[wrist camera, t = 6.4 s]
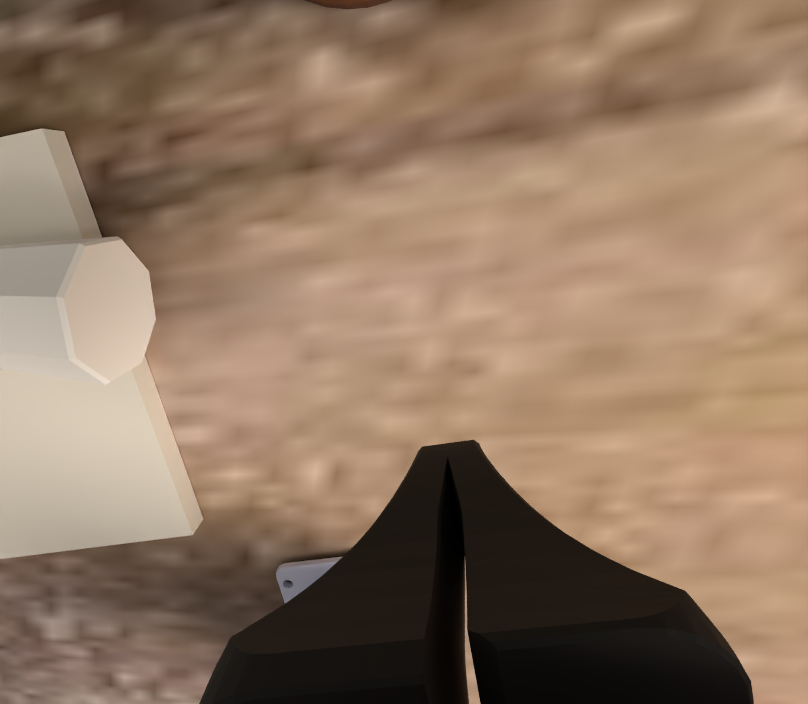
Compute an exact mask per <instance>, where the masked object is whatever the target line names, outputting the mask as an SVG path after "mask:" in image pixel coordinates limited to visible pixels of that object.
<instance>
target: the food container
mask: <svg viewBox="0 0 808 704" xmlns="http://www.w3.org/2000/svg"><path fill="white" fill-rule="evenodd" d="M306 1H308V2H312V3H315V4H318V5H322V6H325V7H331V8H340V9H356V8H368V7H372V6H375V5H379V4H382V3H386V2H389V1H391V0H306Z"/></svg>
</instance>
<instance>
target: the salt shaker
mask: <svg viewBox="0 0 808 704" xmlns="http://www.w3.org/2000/svg"><path fill="white" fill-rule="evenodd" d="M155 321H156V317H155V310H154V303H153V296H152V289H151V283H150V276H149V271H148V270H147V268H146V267H145V266H144V265H143V264H142V263H141V261H140V260H139V259H138V258H137V257H136V255H135V254H134V253H133V252H132V251H131V250H130V248H129V247H128V246H127V245H126V244H125V242H124V241H123V240H122V239H121V238H119V237H118V236H116V237H103V238H90V239H77V240H65V241H52V242H39V243H26V244H13V245H1V246H0V368H1V369H7V370H14V371H20V372H27V373H33V374H40V375H46V376H53V377H59V378H66V379H72V380H79V381H85V382H91V383H98V384H104V385H106V384H108V383H109V382H111V381H113V380H114V379H116V378H118V377H119V376H121V375H123V374H124V373H126V372H128V371H129V370H131V369H133V368H134V367H136V366H138V365H139V364H141V363H142V361H143V358H144V355H145V352H146V348H147V345H148V342H149V339H150V336H151V333H152V330H153V327H154V324H155Z"/></svg>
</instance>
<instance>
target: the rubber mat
mask: <svg viewBox="0 0 808 704" xmlns="http://www.w3.org/2000/svg"><path fill="white" fill-rule="evenodd" d="M90 238H102V235H101V232H100V230H99V227H98V224H97V221H96V219H95V216H94V213H93V210H92V207H91V205H90V202H89V199H88V196H87V194H86V191H85V188H84V185H83V182H82V180H81V177H80V174H79V171H78V168H77V166H76V163H75V160H74V157H73V155H72V152H71V149H70V146H69V143H68V141H67V138H66V135H65V132H64V131H58V130H50V129H43V128H41V129H37V130H32V131H27V132H23V133H18V134H13V135H9V136H4V137H0V246H1V245H13V244H26V243H39V242H52V241H65V240H77V239H90ZM202 520H203V516H202V514H201V511H200V508H199V505H198V502H197V500H196V497H195V494H194V491H193V489H192V486H191V483H190V480H189V477H188V475H187V472H186V469H185V466H184V464H183V461H182V458H181V455H180V452H179V450H178V447H177V444H176V441H175V438H174V436H173V433H172V430H171V427H170V425H169V422H168V419H167V416H166V413H165V411H164V408H163V405H162V402H161V400H160V397H159V394H158V391H157V388H156V386H155V383H154V380H153V377H152V374H151V372H150V369H149V366H148V363H147V361H146V358H145V355H144V358H143V361H142V363H141V364H139V365H138V366H136V367H134V368H133V369H131V370H129V371H128V372H126V373H124V374H123V375H121V376H119V377H118V378H116V379H114V380H113V381H111V382H109V383H108V384H106V385H104V384H98V383H91V382H85V381H79V380H72V379H66V378H59V377H53V376H46V375H40V374H33V373H27V372H20V371H14V370H7V369H1V368H0V559H5V558H13V557H21V556H29V555H37V554H45V553H53V552H61V551H69V550H77V549H85V548H93V547H101V546H109V545H117V544H125V543H133V542H141V541H149V540H157V539H165V538H173V537H181V536H189V535H193V534H194V533H195V531H196V529H197V528H198V526H199V525H200V523H201V522H202Z"/></svg>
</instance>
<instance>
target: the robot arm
mask: <svg viewBox="0 0 808 704" xmlns="http://www.w3.org/2000/svg"><path fill="white" fill-rule="evenodd" d="M465 561H466V583H467V630H468V636H469V641H470V647H471V652H472V658H473V664H474V669H475V675H476V680H477V686H478V691H479V697H480V703H481V704H754V701H753V693H752V686H751V680H750V679H749V677H748V675H747V673H746V672H745V670H744V668H743V666H742V665H741V663H740V661H739V659H738V658H737V656H736V654H735V653H734V651H733V650H732V648H731V647H730V645H729V644H728V642H727V641H726V640H725V638H724V637H723V635H722V634H721V633H720V632H719V630H718V629H717V628H716V627H715V626H714V624H713V623H712V622H711V621H710V619H709V618H708V617H707V616H706V615H705V613H704V612H703V611H702V610H701V609H700V607H699V606H698V605H697V604H696V603H695V601H694V600H693V599H692V598H691V597H690V596H689V594H688V593H687V592H686V591H684V590H682V589H679V588H677V587H674V586H671V585H669V584H666V583H664V582H661V581H659V580H656V579H654V578H651V577H649V576H646V575H643V574H641V573H638V572H636V571H634V570H631V569H629V568H627V567H625V566H623V565H621V564H619V563H617V562H615V561H613V560H611V559H609V558H607V557H605V556H603V555H601V554H599V553H597V552H595V551H594V550H592V549H590V548H588V547H587V546H585V545H583V544H582V543H580V542H579V541H577V540H575V539H574V538H572V537H570V536H569V535H567V534H566V533H564V532H563V531H561V530H560V529H559V528H557V527H556V526H554V525H553V524H552V523H551V522H549V521H548V520H547V519H545V518H544V517H543V516H542V515H541V514H539V513H538V512H537V511H536V510H535V509H534V508H532V507H531V506H530V505H529V504H528V503H527V502H526V501H525V500H524V499H523V498H522V497H521V496H520V495H519V494H518V493H517V492H516V491H515V490H514V489H513V488H512V487H511V486H510V485H509V484H508V483H507V482H506V481H505V479H504V478H503V477H502V476H501V475H500V474H499V473H498V471H497V470H496V469H495V468H494V466H493V465H492V464H491V462H490V461H489V460H488V458H487V457H486V455H485V454H484V452H483V451H482V449H481V447H480V445H479V443H477V442H476V441H475V440H469V441H461V442H454V443H446V444H439V445H432V446H424V447H422V448H421V449H420V450H419V451H418V453H417V455H416V457H415V460H414V462H413V463H412V465H411V467H410V469H409V471H408V473H407V475H406V476H405V478H404V480H403V481H402V483H401V485H400V486H399V488H398V490H397V491H396V493H395V494H394V496H393V497H392V499H391V500H390V502H389V503H388V505H387V506H386V507H385V509H384V510H383V512H382V513H381V514H380V516H379V517H378V519H377V520H376V521H375V522H374V524H373V525H372V526H371V527H370V529H369V530H368V531H367V532H366V533H365V535H364V536H363V537H362V538H361V539H360V540H359V541H358V542H357V544H356V545H355V546H354V547H353V548H352V549H351V550H350V551H349V552H347V553H346V554H345V555H344V556H343V557H334V558H326V559H317V560H308V561H300V562H291V563H284V564H281V565H280V566H279V567H278V569H277V572H276V578H277V581H278V584H279V587H280V590H281V593H282V597H283V600H284V603H285V604H284V605H282V606H281V607H279V608H278V609H276V610H275V611H273V612H272V613H270V614H268V615H267V616H265V617H264V618H262V619H260V620H259V621H257V622H255V623H254V624H252V625H251V626H249V627H247V628H246V629H244V630H243V631H241V632H239V633H237V634H236V635H234V636H232V637H231V638H230V640H229V642H228V644H227V646H226V648H225V650H224V652H223V654H222V655H221V657H220V659H219V661H218V663H217V665H216V667H215V669H214V671H213V674H212V676H211V678H210V680H209V682H208V685H207V687H206V689H205V692H204V694H203V696H202V699H201V701H200V703H199V704H469V699H468V688H467V678H466V665H465ZM286 580H290V581H292V582H287V581H286Z"/></svg>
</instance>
